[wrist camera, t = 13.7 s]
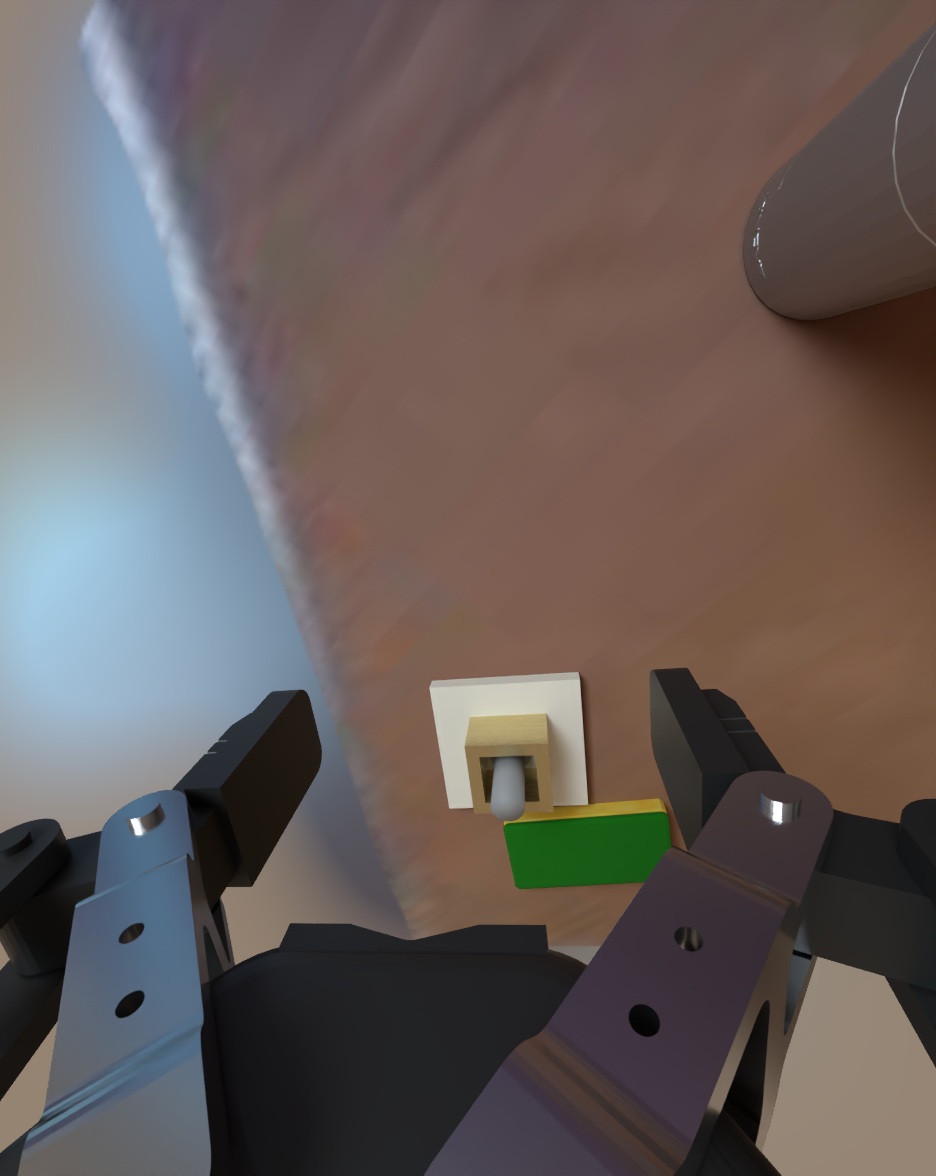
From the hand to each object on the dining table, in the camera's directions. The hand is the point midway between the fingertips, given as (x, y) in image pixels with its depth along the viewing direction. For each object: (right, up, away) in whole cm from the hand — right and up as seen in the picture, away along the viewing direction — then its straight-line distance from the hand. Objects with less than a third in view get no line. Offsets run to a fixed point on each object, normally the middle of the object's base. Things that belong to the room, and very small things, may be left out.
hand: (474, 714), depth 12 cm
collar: (+3, -10, +32) cm, 34 cm away
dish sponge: (+11, -19, +36) cm, 42 cm away
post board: (+3, -10, +33) cm, 35 cm away
